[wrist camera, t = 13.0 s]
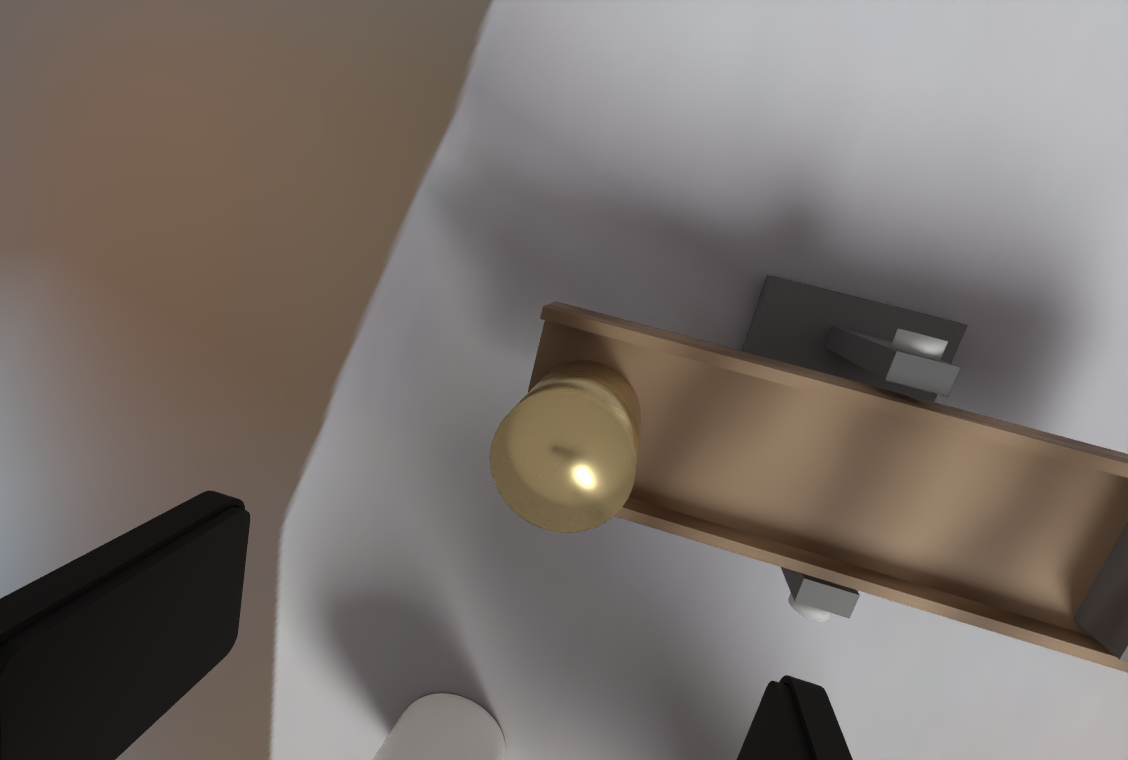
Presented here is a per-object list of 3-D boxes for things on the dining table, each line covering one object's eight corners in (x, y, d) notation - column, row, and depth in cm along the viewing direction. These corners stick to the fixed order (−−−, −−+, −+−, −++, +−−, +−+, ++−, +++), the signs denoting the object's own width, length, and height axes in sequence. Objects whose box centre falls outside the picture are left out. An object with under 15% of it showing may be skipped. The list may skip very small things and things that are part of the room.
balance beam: (1270, 492, 22) (1398, 542, 18) (1168, 654, 24) (1264, 729, 20) (555, 301, 25) (536, 309, 21) (517, 459, 27) (494, 492, 23)
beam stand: (955, 322, 29) (1085, 351, 20) (851, 564, 33) (922, 677, 24) (767, 275, 30) (814, 283, 21) (687, 515, 34) (698, 606, 25)
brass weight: (619, 345, 24) (607, 373, 18) (656, 451, 24) (655, 512, 19) (513, 380, 25) (469, 418, 19) (551, 481, 25) (520, 547, 20)
